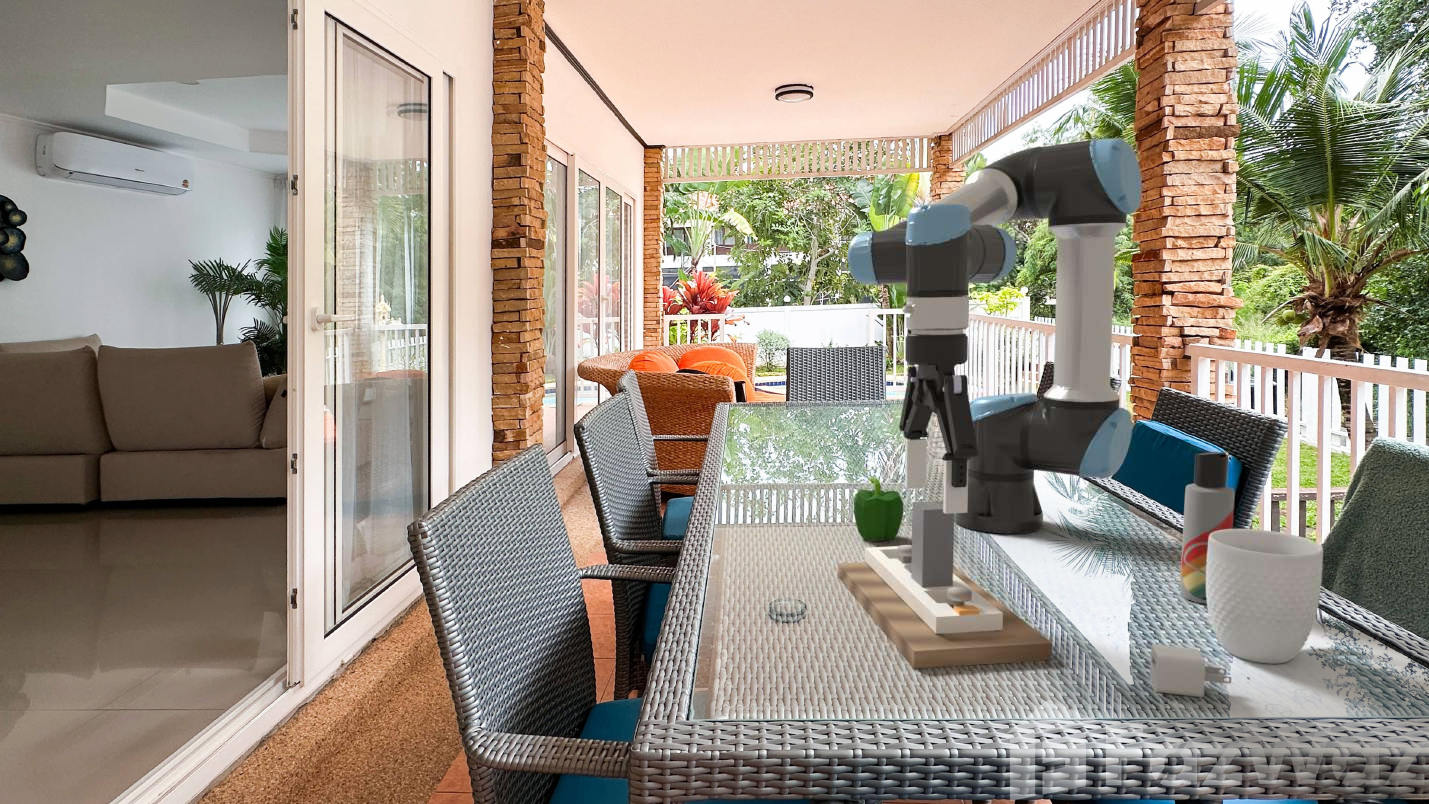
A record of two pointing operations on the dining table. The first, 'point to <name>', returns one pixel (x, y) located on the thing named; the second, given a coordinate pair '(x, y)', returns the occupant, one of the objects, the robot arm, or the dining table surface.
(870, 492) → the bell pepper
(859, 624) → the dining table surface
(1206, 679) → the usb wall charger
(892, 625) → the pin board
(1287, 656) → the mug
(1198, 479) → the lotion bottle
